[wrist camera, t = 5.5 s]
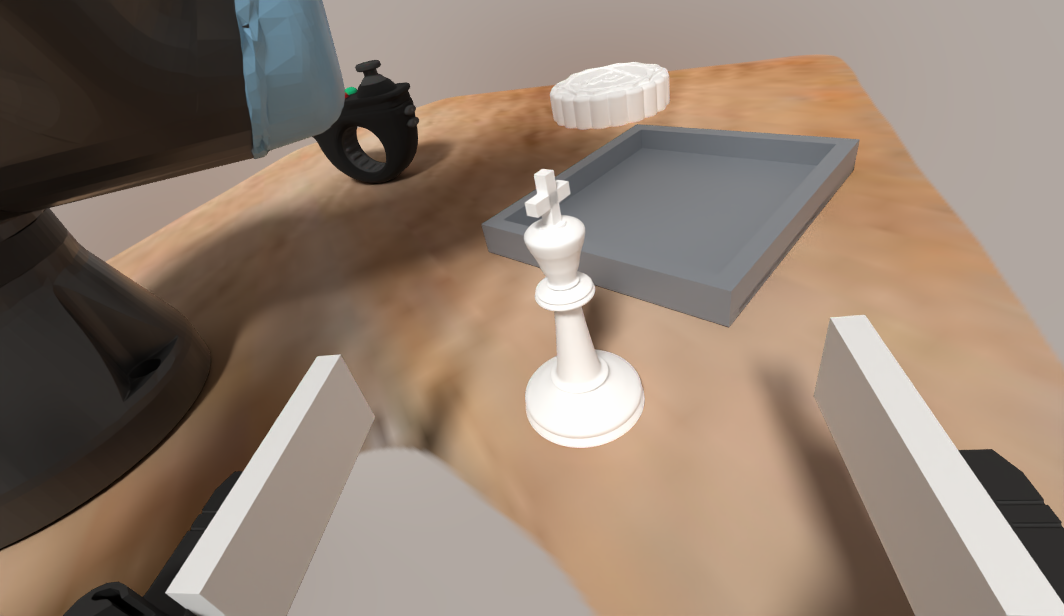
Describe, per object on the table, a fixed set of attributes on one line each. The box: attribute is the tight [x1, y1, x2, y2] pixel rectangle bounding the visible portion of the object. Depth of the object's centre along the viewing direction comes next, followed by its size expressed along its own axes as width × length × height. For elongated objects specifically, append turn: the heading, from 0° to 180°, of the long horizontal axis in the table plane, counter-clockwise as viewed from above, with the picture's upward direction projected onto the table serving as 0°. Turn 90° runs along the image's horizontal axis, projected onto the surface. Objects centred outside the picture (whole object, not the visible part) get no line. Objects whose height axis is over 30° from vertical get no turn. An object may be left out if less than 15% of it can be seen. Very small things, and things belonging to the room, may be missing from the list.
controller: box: [312, 60, 419, 183], centre depth 45 cm, size 4×12×10 cm, turn 75°
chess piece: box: [524, 169, 645, 448], centre depth 18 cm, size 5×5×10 cm
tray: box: [481, 124, 859, 327], centre depth 32 cm, size 16×18×2 cm
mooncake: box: [550, 62, 670, 130], centre depth 52 cm, size 12×12×4 cm
